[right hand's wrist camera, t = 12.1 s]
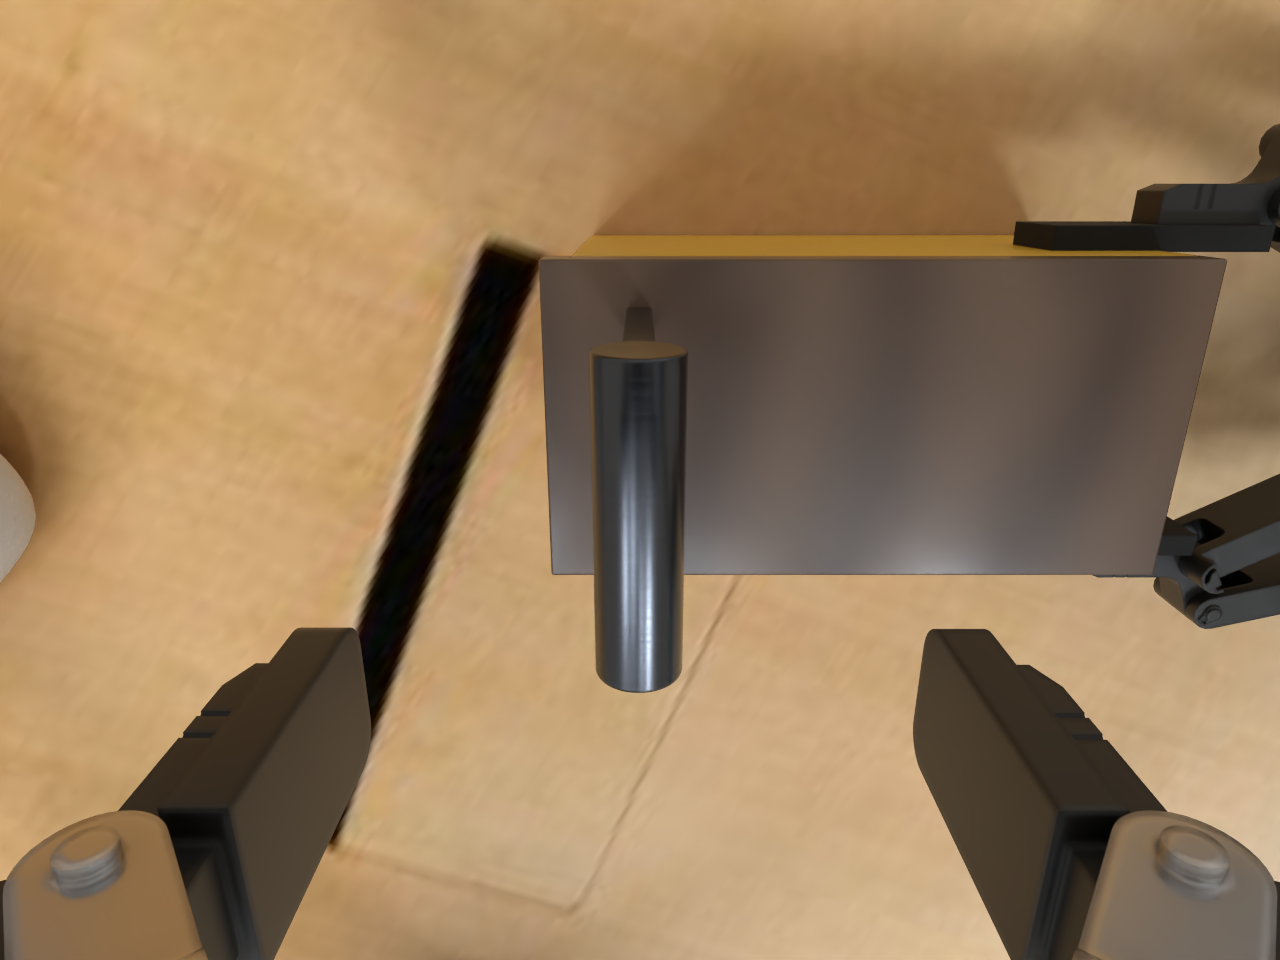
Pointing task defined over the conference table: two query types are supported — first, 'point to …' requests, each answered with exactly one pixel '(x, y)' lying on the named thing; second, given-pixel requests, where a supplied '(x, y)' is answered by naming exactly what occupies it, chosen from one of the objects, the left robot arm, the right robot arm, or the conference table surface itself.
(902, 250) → the chest
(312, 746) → the right robot arm
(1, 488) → the grey piece
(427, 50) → the conference table surface
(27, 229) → the conference table surface
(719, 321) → the lid
